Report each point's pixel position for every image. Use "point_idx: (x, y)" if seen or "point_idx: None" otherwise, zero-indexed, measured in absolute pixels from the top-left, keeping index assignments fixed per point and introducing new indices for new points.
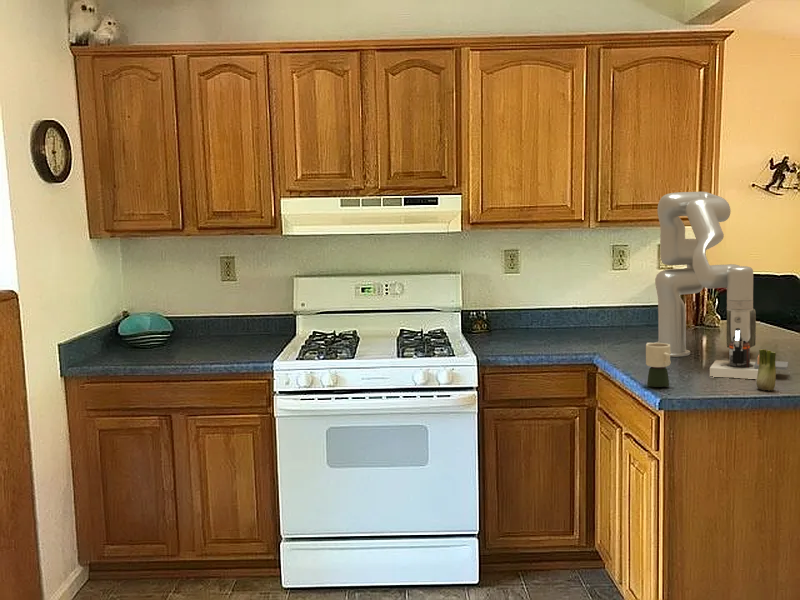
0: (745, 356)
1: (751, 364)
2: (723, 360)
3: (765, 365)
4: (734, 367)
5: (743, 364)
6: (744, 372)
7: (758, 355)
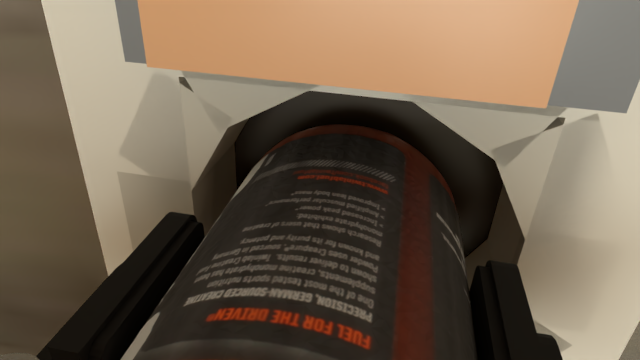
0: (456, 306)
1: (243, 118)
2: None
3: None
4: None
5: (457, 241)
6: None
7: (383, 80)
